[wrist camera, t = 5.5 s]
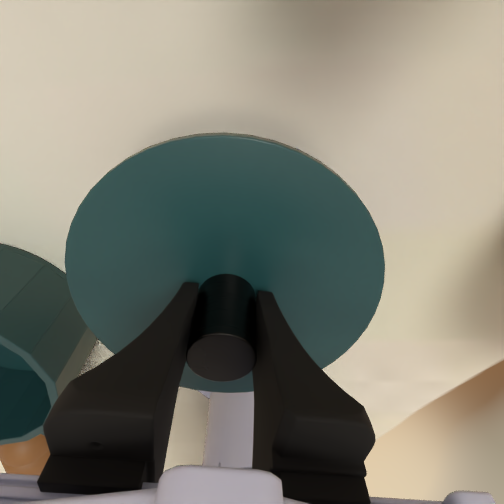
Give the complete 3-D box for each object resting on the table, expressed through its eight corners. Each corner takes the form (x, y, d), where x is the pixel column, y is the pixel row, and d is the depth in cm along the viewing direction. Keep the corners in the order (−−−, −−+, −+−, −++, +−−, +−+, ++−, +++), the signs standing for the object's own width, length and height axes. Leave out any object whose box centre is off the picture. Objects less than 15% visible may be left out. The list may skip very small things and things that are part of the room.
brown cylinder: (73, 450, 36) (51, 499, 32) (29, 447, 36) (2, 496, 32) (62, 405, 32) (36, 455, 28) (12, 400, 32) (-22, 450, 28)
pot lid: (263, 38, 11) (272, 33, 7) (423, 304, 17) (477, 384, 13) (10, 255, 15) (-75, 330, 11) (210, 405, 21) (201, 488, 17)
